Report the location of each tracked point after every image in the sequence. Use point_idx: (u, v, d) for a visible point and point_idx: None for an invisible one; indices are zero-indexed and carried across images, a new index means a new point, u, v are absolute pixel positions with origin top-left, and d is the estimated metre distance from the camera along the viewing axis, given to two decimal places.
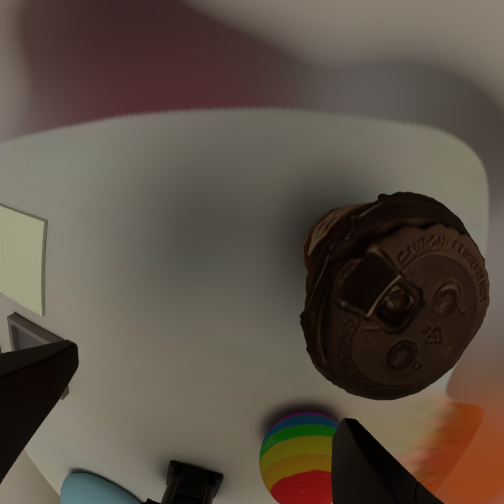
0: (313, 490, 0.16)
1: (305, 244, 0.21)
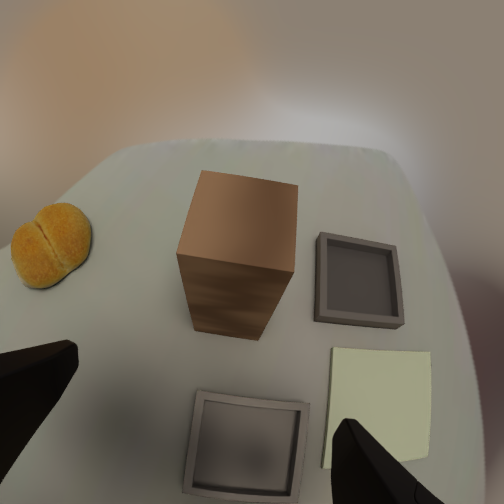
0: None
1: None
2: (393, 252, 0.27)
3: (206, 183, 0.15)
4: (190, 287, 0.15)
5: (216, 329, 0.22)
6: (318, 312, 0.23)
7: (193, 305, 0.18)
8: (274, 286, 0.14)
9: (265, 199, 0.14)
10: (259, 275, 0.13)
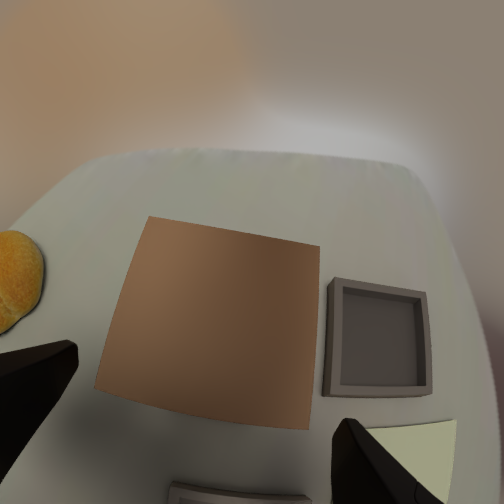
0: None
1: None
2: (422, 301, 0.20)
3: (153, 244, 0.08)
4: None
5: None
6: (328, 389, 0.16)
7: None
8: None
9: (260, 278, 0.08)
10: None
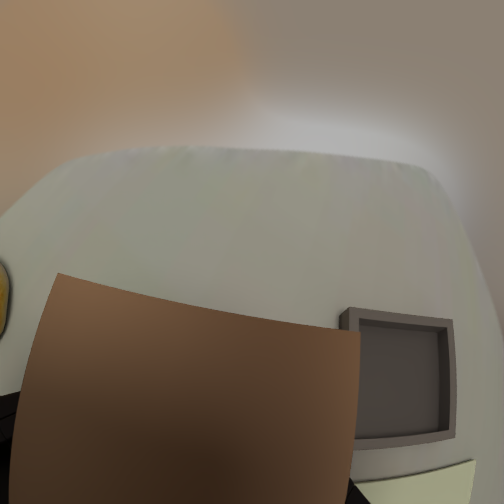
0: None
1: None
2: (449, 330, 0.16)
3: (60, 330, 0.04)
4: None
5: None
6: None
7: None
8: None
9: (248, 407, 0.04)
10: None
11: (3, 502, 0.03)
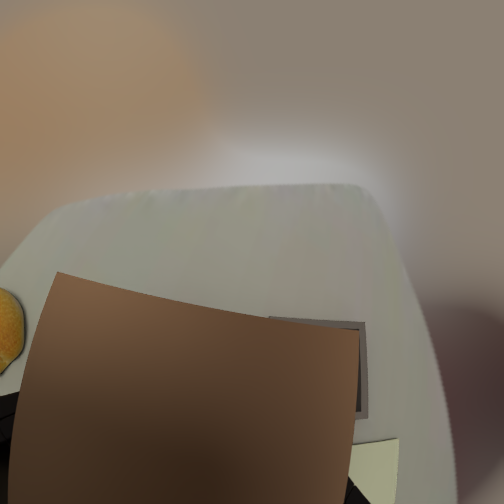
0: None
1: None
2: (361, 331, 0.23)
3: (58, 328, 0.04)
4: None
5: None
6: None
7: None
8: None
9: (248, 405, 0.04)
10: None
11: (3, 502, 0.03)
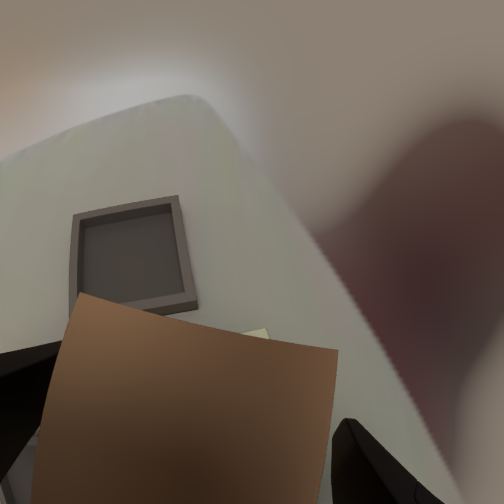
0: None
1: None
2: (173, 204, 0.20)
3: (82, 341, 0.05)
4: None
5: None
6: (70, 316, 0.15)
7: None
8: None
9: (240, 409, 0.04)
10: None
11: None
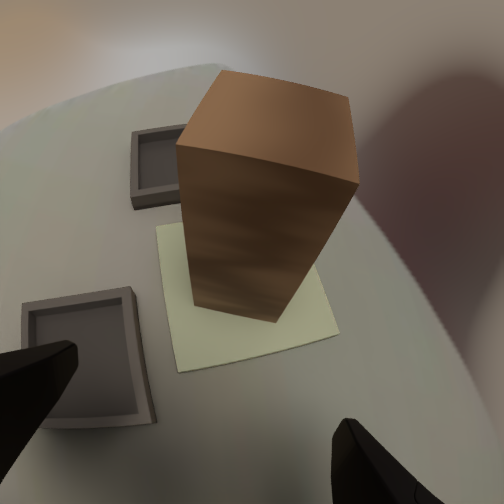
0: None
1: None
2: None
3: (227, 80, 0.10)
4: (192, 221, 0.10)
5: (222, 304, 0.17)
6: None
7: (194, 259, 0.13)
8: (322, 216, 0.09)
9: (308, 101, 0.09)
10: (303, 190, 0.08)
11: None
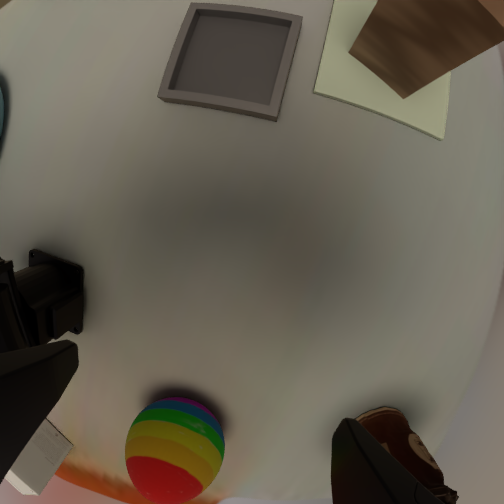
0: (184, 497, 0.15)
1: (389, 412, 0.22)
2: None
3: None
4: None
5: (373, 61, 0.15)
6: None
7: (376, 16, 0.11)
8: (480, 38, 0.07)
9: None
10: (476, 16, 0.06)
11: None
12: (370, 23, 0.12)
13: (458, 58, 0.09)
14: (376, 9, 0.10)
